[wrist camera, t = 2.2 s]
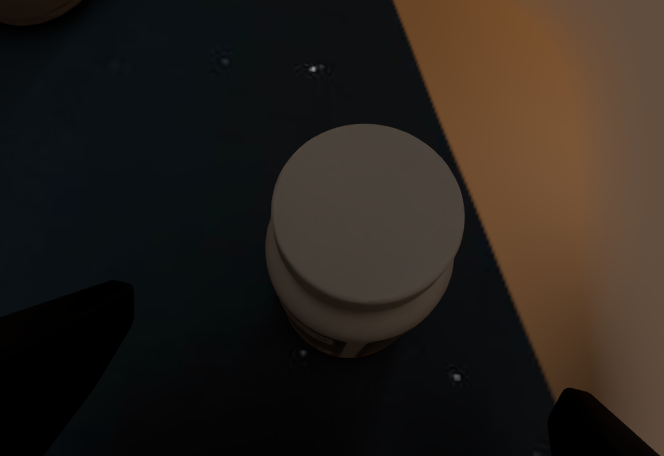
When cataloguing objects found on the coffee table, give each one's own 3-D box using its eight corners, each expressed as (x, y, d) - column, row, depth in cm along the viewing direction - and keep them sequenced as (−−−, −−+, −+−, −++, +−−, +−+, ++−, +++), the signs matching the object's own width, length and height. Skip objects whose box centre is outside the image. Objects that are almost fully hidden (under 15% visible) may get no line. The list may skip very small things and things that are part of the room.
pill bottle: (404, 231, 21) (473, 103, 12) (417, 356, 19) (511, 323, 10) (282, 234, 21) (252, 107, 11) (282, 361, 19) (246, 332, 10)
